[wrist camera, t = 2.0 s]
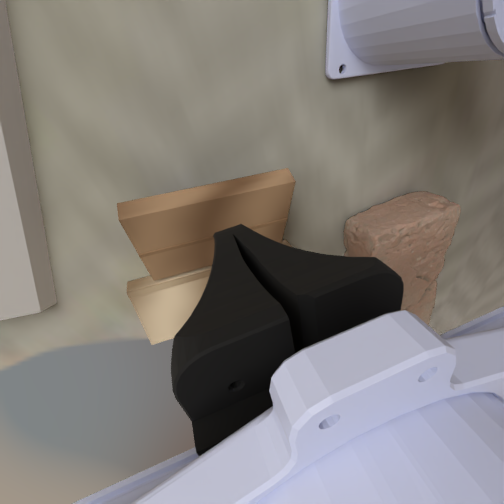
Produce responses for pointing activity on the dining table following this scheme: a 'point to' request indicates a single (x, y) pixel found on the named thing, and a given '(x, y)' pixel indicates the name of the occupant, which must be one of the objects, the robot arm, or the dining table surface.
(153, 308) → the floor strip
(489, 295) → the dining table surface
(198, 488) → the robot arm
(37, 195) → the crown molding
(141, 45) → the dining table surface
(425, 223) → the brick
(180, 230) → the plank
